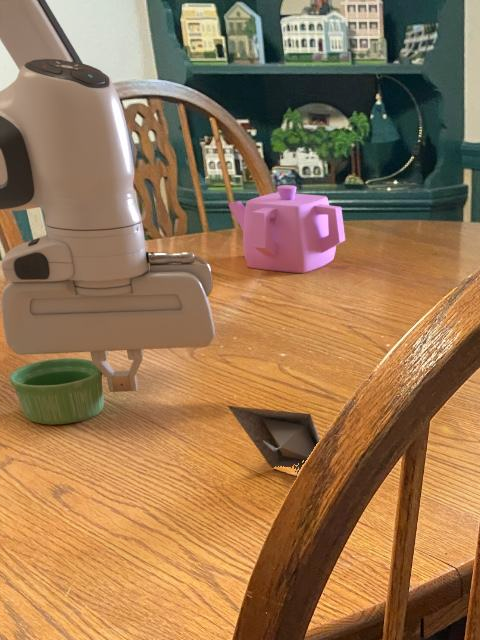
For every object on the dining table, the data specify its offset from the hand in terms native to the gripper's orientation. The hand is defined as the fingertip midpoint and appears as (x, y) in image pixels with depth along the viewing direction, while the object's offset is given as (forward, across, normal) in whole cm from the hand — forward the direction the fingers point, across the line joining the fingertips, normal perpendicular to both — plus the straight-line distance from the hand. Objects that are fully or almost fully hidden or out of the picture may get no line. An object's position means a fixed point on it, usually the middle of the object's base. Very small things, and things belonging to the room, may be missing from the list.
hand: (123, 390), depth 96 cm
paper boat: (+2, -15, +19) cm, 25 cm away
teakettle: (+2, -22, -69) cm, 73 cm away
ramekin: (+2, +6, 0) cm, 7 cm away
